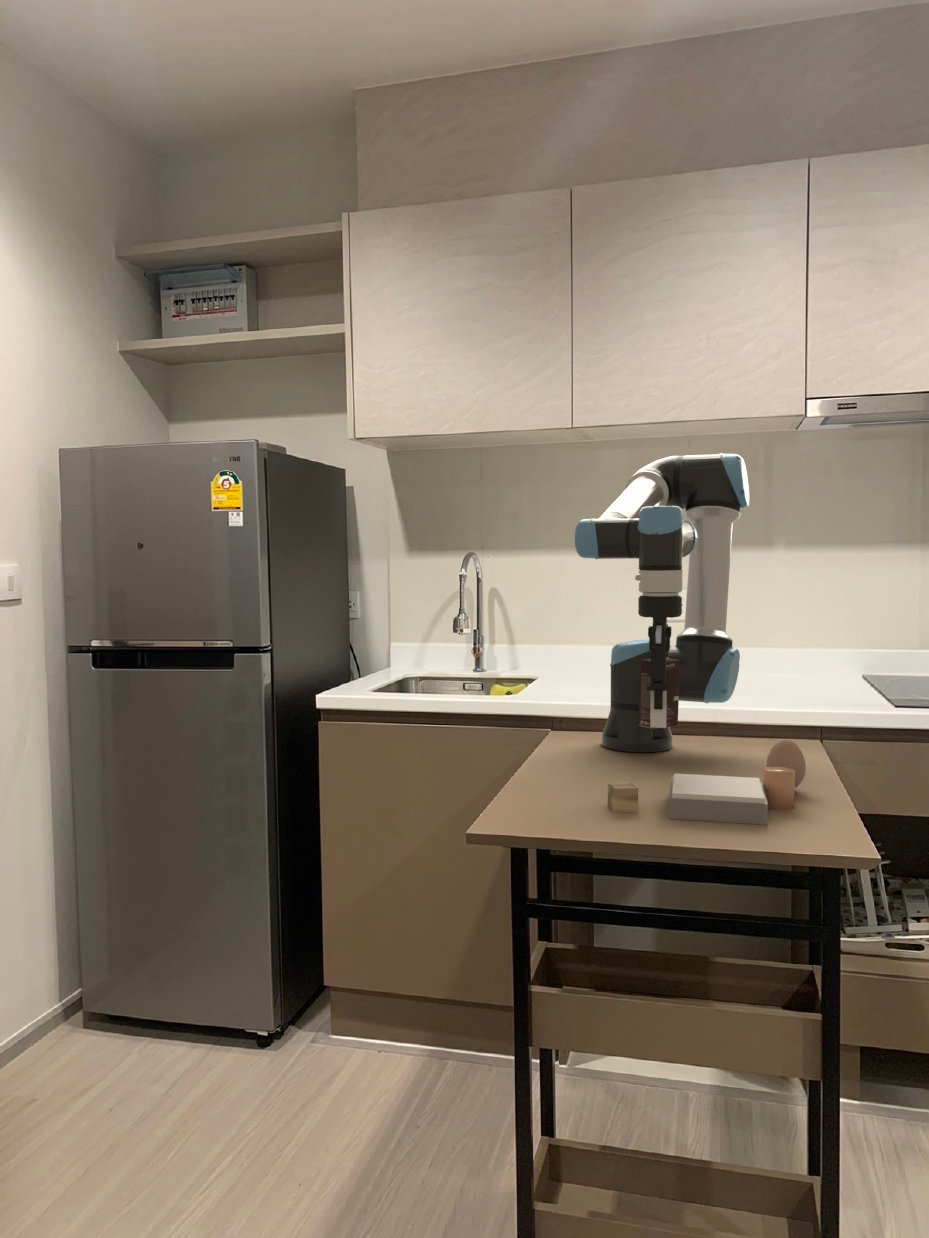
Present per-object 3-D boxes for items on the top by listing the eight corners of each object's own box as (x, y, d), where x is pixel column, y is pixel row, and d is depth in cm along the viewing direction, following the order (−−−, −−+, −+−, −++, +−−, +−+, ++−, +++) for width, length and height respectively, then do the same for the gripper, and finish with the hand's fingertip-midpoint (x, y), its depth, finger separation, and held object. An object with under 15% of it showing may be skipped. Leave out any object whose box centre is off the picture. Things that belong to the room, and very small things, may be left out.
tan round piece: (761, 800, 163) (762, 766, 163) (792, 802, 162) (793, 767, 162) (763, 808, 159) (764, 772, 158) (795, 810, 157) (796, 774, 157)
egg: (764, 793, 169) (765, 741, 168) (767, 784, 175) (768, 734, 174) (804, 796, 166) (805, 744, 166) (805, 787, 172) (807, 737, 172)
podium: (671, 795, 167) (671, 772, 167) (761, 800, 163) (762, 777, 163) (668, 818, 152) (668, 793, 152) (767, 824, 149) (768, 799, 149)
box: (656, 730, 168) (656, 661, 167) (638, 726, 172) (638, 659, 171) (680, 726, 171) (681, 659, 170) (662, 722, 175) (662, 656, 174)
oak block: (607, 806, 160) (607, 782, 160) (631, 805, 161) (631, 781, 160) (613, 812, 156) (614, 788, 156) (638, 811, 157) (638, 787, 156)
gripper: (641, 590, 180) (641, 711, 182) (634, 598, 161) (634, 733, 163) (682, 590, 178) (681, 713, 180) (680, 598, 159) (679, 735, 161)
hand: (659, 722), depth 172 cm, fingers closed on box, 7 cm apart
